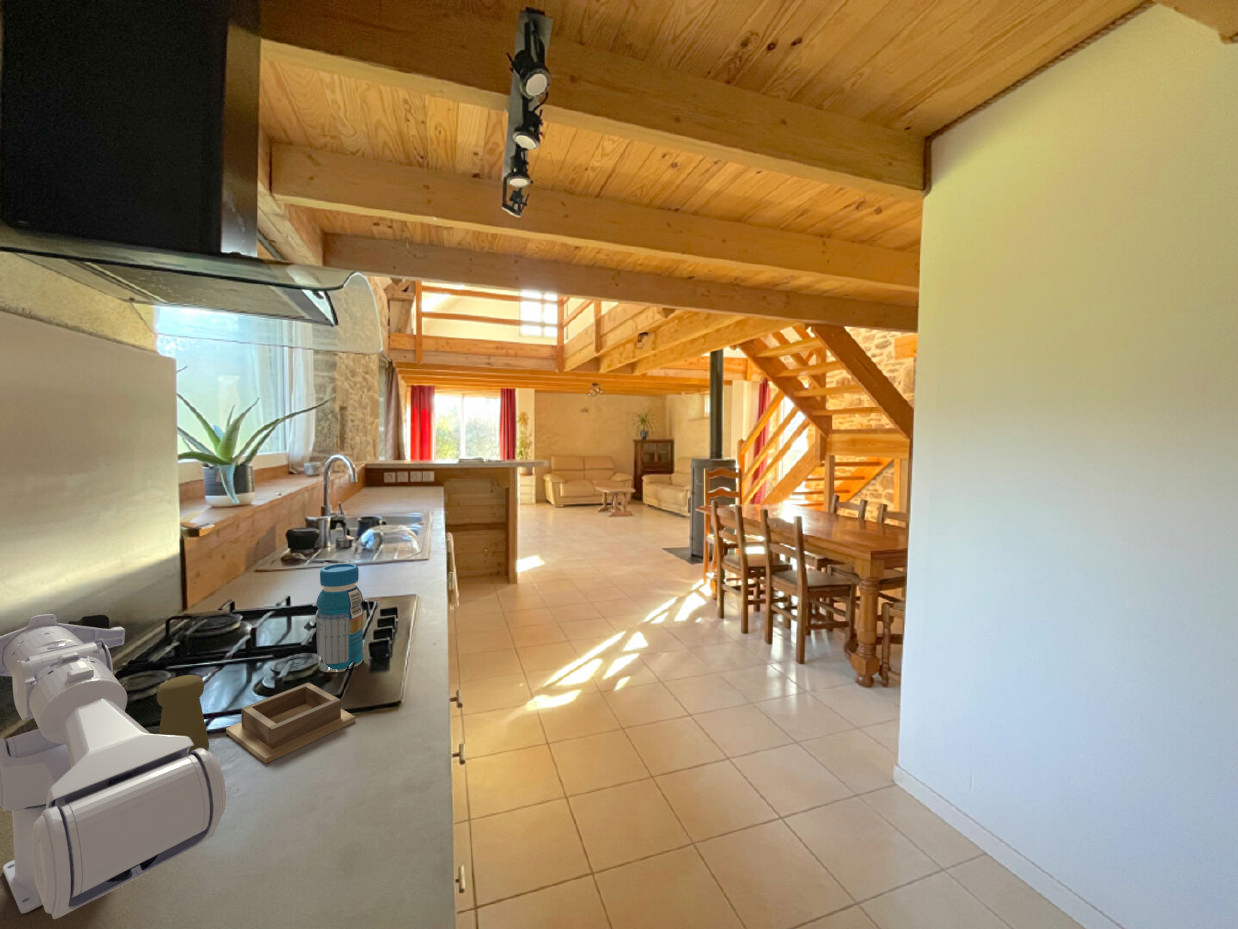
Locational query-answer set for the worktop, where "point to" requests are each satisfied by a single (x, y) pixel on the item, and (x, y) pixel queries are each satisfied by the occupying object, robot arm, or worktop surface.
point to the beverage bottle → (340, 617)
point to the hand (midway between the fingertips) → (27, 635)
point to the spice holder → (288, 721)
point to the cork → (183, 710)
